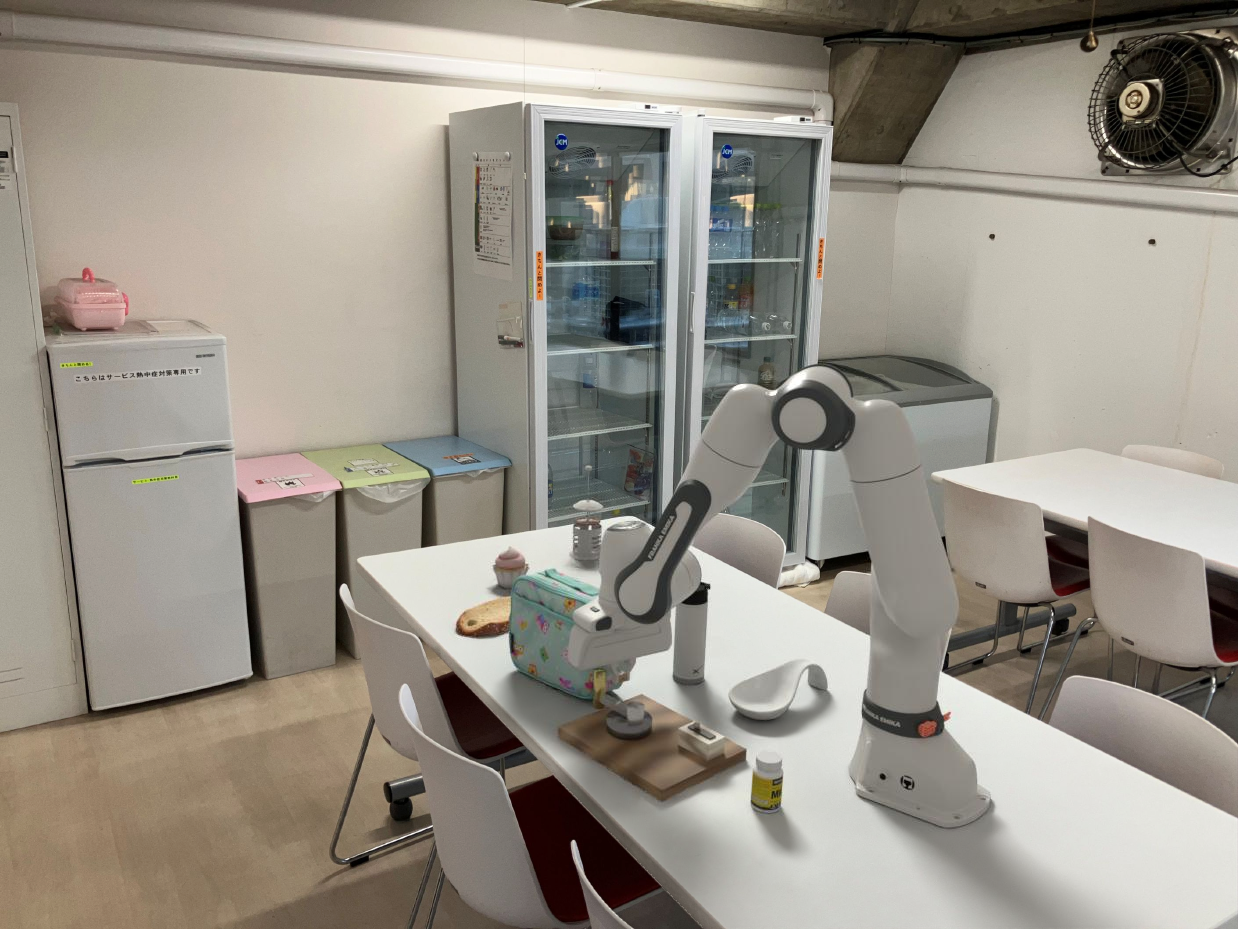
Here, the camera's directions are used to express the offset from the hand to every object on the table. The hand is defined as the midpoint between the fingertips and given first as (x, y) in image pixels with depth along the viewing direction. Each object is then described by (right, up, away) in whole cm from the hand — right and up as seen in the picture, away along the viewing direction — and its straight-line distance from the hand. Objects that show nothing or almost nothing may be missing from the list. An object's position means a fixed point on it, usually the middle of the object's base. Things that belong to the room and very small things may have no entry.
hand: (620, 681), depth 179 cm
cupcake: (-27, +9, +67) cm, 73 cm away
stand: (+5, -10, -9) cm, 14 cm away
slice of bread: (-29, +3, +45) cm, 54 cm away
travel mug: (+14, -4, +19) cm, 23 cm away
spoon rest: (+30, -7, +9) cm, 33 cm away
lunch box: (-11, -4, +16) cm, 20 cm away
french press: (-9, +15, +93) cm, 94 cm away
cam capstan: (0, -6, -5) cm, 8 cm away
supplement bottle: (+23, -14, -25) cm, 36 cm away
